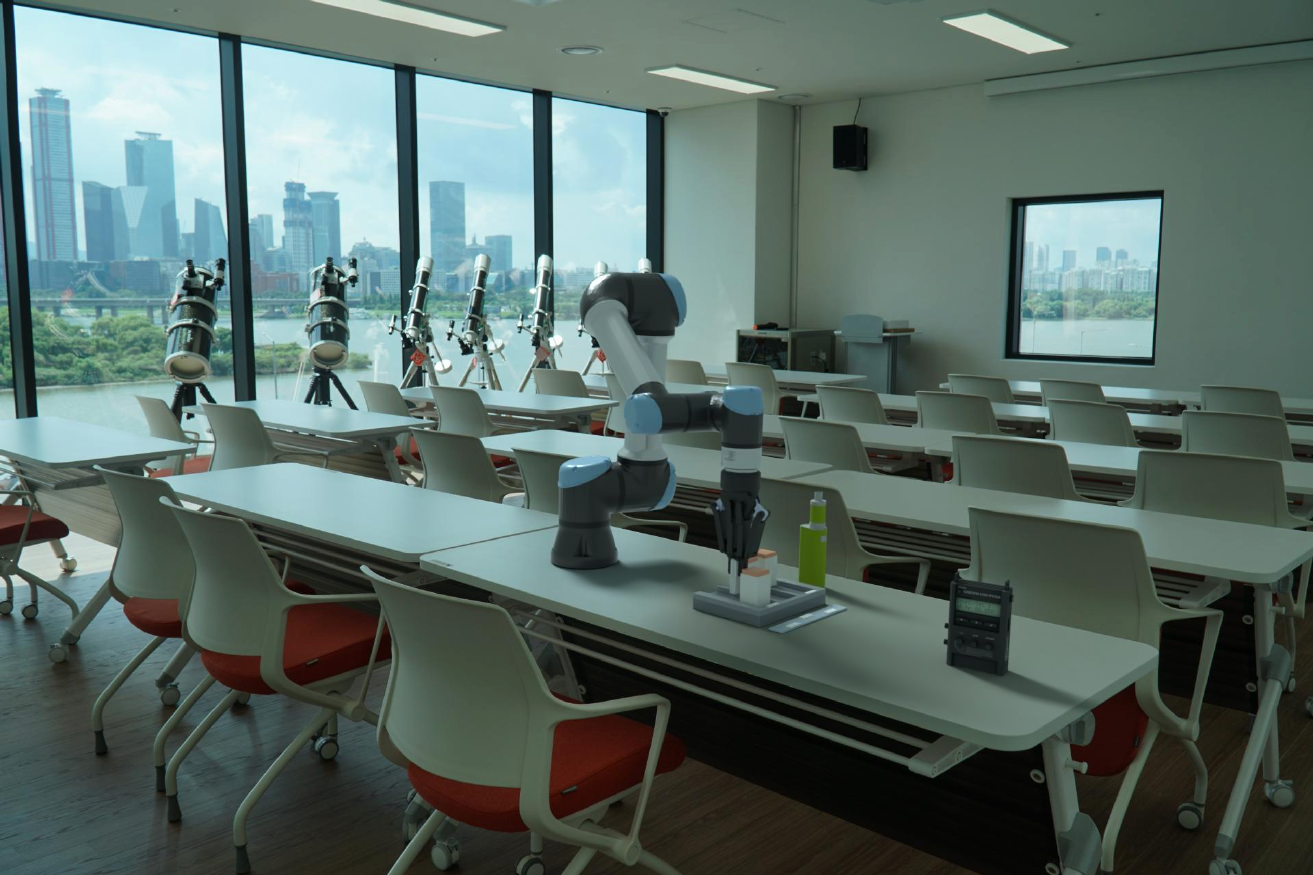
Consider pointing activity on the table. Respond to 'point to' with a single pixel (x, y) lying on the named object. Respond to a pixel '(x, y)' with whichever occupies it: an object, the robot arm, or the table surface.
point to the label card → (807, 618)
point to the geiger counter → (979, 625)
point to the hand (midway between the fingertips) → (737, 592)
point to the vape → (814, 545)
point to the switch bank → (783, 604)
